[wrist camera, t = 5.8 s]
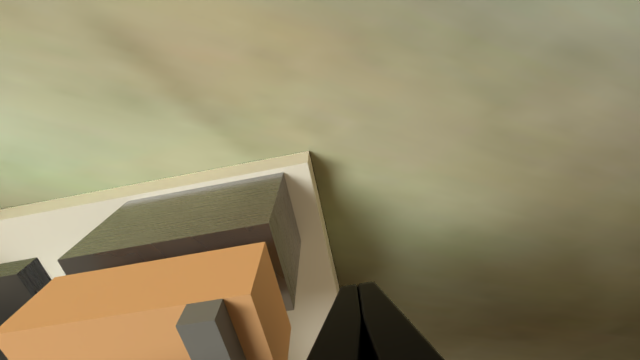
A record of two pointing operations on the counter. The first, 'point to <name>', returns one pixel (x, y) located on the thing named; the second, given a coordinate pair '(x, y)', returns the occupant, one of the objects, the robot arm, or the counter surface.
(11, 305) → the grey lever
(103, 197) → the board
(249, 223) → the grey piece
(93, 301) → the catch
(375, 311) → the robot arm
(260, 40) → the counter surface
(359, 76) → the counter surface
